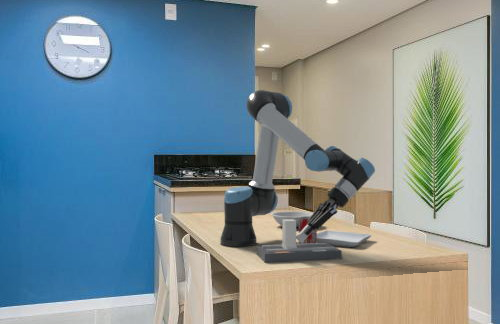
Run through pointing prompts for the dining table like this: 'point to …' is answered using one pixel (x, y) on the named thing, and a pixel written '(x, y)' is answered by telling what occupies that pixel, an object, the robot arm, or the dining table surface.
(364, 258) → the dining table surface
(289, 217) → the soup bowl
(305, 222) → the soda can
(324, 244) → the switch board
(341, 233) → the salad plate
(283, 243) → the tab
